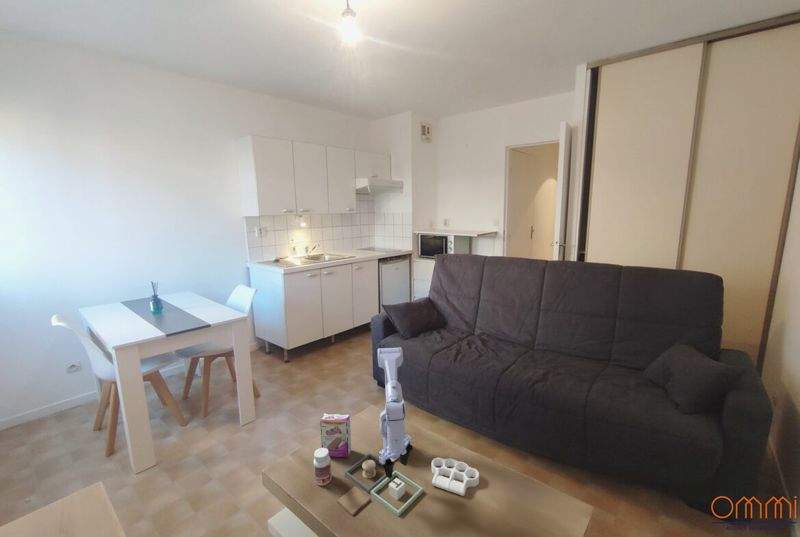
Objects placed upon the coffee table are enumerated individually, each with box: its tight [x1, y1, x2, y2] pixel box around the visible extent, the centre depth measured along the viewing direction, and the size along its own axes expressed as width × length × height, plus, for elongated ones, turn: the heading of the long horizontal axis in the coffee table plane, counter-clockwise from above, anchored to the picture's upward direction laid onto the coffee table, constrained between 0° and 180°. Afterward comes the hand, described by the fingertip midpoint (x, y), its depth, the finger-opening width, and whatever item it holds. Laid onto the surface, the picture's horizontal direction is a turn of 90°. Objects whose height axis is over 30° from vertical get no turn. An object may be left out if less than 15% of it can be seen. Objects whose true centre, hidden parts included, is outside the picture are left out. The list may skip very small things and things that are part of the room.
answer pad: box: [336, 486, 371, 516], centre depth 119 cm, size 8×8×1 cm
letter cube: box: [388, 477, 406, 501], centre depth 122 cm, size 4×4×4 cm
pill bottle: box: [313, 447, 333, 486], centre depth 128 cm, size 6×6×11 cm
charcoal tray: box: [344, 452, 395, 495], centre depth 131 cm, size 13×13×2 cm
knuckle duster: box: [430, 457, 480, 497], centre depth 129 cm, size 3×18×15 cm
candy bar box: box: [319, 413, 352, 458], centre depth 141 cm, size 11×5×16 cm, turn 85°
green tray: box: [369, 470, 424, 517], centre depth 122 cm, size 13×13×2 cm
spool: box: [361, 459, 377, 480], centre depth 131 cm, size 5×5×4 cm
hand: (396, 470), depth 120 cm, fingers open, 7 cm apart
